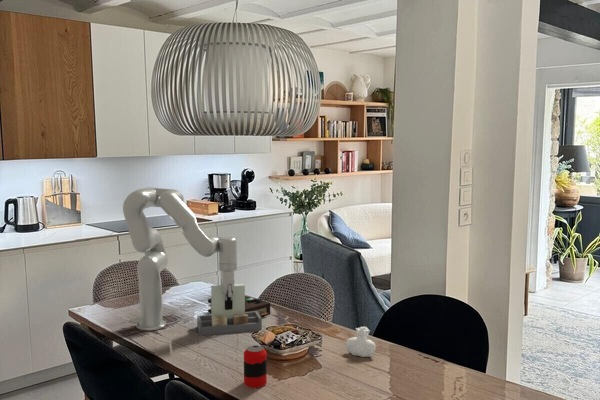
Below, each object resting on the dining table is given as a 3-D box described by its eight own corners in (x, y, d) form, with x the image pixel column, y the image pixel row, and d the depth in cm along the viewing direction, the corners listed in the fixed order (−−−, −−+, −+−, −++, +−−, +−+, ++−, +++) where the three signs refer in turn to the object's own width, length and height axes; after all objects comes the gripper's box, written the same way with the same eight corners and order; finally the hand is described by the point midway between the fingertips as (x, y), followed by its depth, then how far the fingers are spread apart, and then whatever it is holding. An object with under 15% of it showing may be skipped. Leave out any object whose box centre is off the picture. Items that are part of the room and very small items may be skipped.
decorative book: (234, 289, 281) (275, 301, 260) (234, 304, 281) (275, 317, 260) (202, 296, 267) (243, 310, 246) (203, 312, 268) (243, 327, 247)
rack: (199, 337, 232) (199, 323, 232) (197, 329, 242) (197, 315, 242) (261, 332, 239) (261, 318, 238) (257, 324, 249) (256, 311, 249)
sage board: (212, 328, 240) (211, 287, 238) (211, 326, 242) (211, 285, 241) (244, 326, 244) (244, 285, 242) (243, 324, 246) (243, 283, 244)
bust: (376, 362, 213) (383, 334, 218) (370, 355, 207) (377, 326, 212) (346, 356, 218) (354, 329, 223) (340, 349, 213) (348, 321, 218)
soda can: (266, 378, 192) (266, 344, 191) (266, 388, 185) (266, 352, 184) (244, 378, 192) (244, 344, 191) (243, 388, 185) (243, 352, 183)
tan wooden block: (234, 330, 237) (234, 317, 237) (233, 328, 240) (232, 314, 240) (248, 329, 239) (248, 315, 238) (247, 327, 242) (246, 313, 241)
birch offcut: (212, 332, 235) (212, 318, 234) (211, 330, 238) (211, 316, 237) (226, 331, 237) (226, 317, 236) (226, 329, 240) (225, 315, 239)
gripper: (216, 262, 247) (217, 303, 249) (221, 270, 232) (221, 314, 233) (233, 261, 249) (234, 302, 251) (239, 269, 234) (239, 313, 235)
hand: (228, 307), depth 242 cm, fingers closed on sage board, 2 cm apart
